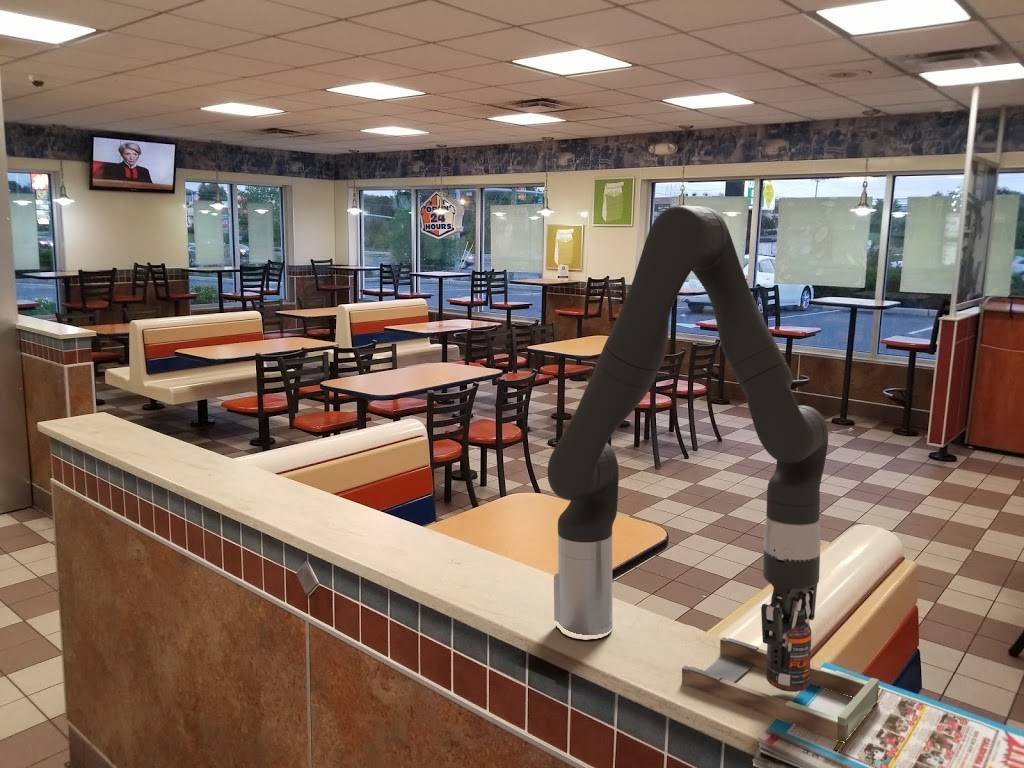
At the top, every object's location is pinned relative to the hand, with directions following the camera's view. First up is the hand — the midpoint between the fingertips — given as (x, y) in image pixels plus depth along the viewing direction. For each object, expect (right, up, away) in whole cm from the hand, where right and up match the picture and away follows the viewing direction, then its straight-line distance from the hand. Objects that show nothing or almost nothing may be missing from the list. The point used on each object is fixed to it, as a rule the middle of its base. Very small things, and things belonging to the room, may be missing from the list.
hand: (788, 659), depth 117 cm
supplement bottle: (0, -4, +1) cm, 4 cm away
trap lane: (-1, -5, +2) cm, 6 cm away
